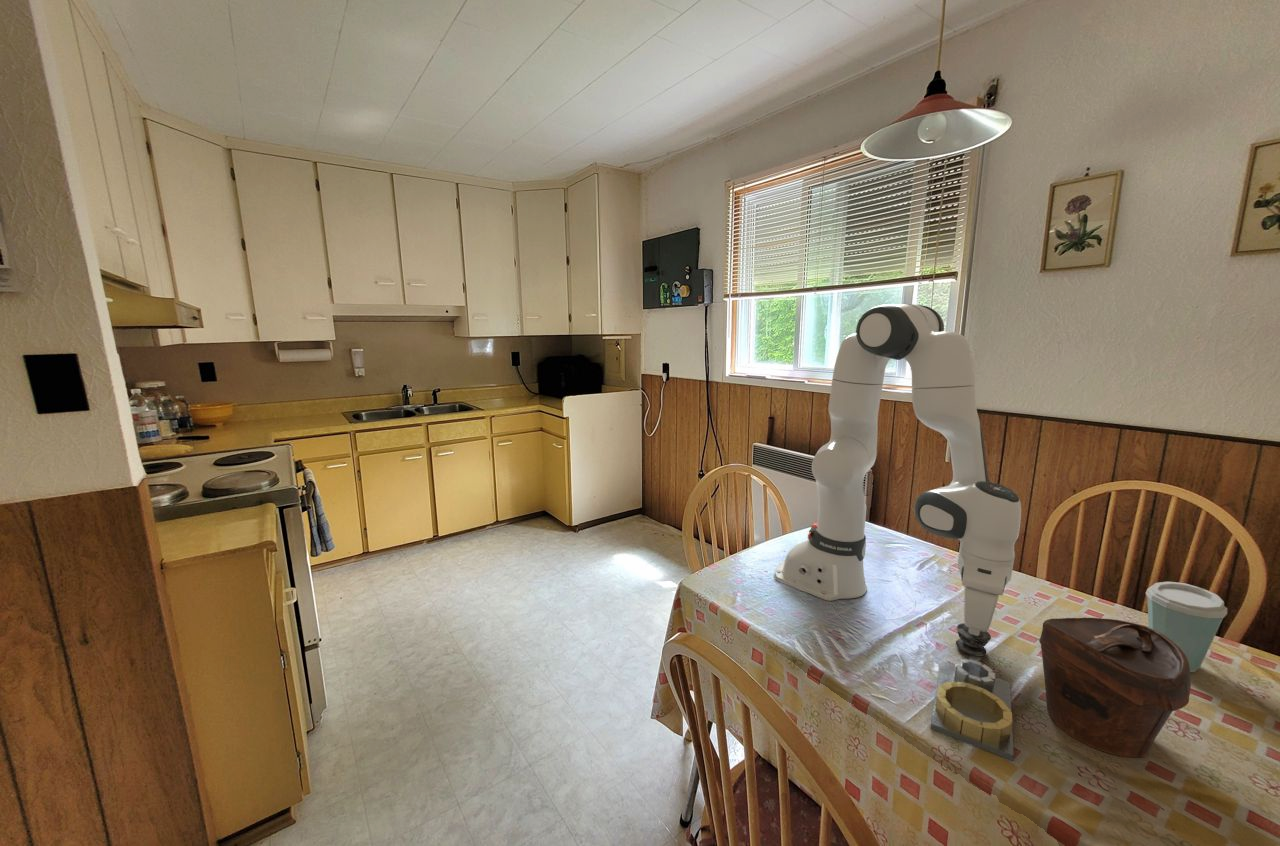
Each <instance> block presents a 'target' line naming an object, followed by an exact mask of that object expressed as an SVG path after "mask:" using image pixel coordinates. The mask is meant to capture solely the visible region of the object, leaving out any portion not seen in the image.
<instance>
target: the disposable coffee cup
mask: <svg viewBox="0 0 1280 846" xmlns="http://www.w3.org/2000/svg"><path fill="white" fill-rule="evenodd" d="M1145 595H1146V600H1147V619H1148V623H1147V624H1148V627H1149V628H1151V629H1153V630H1155V631H1158V632H1160V633H1162V634H1163V635H1165V636H1166V637H1168V638H1169V639H1170V640H1172V641H1173V642H1174V643H1175V644H1176V645H1178V646H1179V647H1180V649H1181V650H1182V651H1183V652H1184V654H1185V655H1186V657H1187V659H1188V662H1189V666H1190V673H1196V672H1197V670H1199V669H1200V668H1201V666H1202V665H1203V662H1204V660H1205V659H1206V658H1205V657H1206V655H1207V653H1208V651H1209V649H1210V648H1211V645H1212V642H1213V640H1214V639H1215V636H1216V634H1217V632H1218V631H1219V628H1220V626H1221V624H1222V621H1223V619H1225V617H1226V616H1227V615H1228V607H1226V605H1225V602H1224V600H1223V599H1222V598H1221V597H1220V596H1219V595H1218V594H1216V593H1214V592H1212V591H1209V590H1207V589H1205V588H1202V587H1199V586H1195V585H1192V584H1188V583H1185V582H1184V583H1183V582H1178V581H1177V582H1176V581H1162V582H1161V581H1160V582H1155V583H1154V584H1153V585H1150V586H1149V587H1148V588H1147V589H1146V592H1145Z"/></svg>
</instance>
